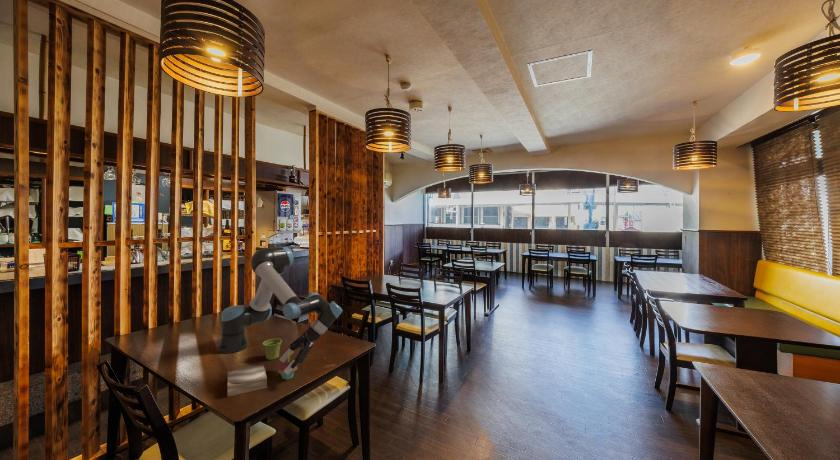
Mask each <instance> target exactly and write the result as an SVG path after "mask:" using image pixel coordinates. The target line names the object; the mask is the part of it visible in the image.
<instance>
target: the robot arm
mask: <svg viewBox="0 0 840 460" xmlns="http://www.w3.org/2000/svg"><path fill="white" fill-rule="evenodd" d="M293 264H294V254H293V252H292V250H291V248H290V247H287V246H278V247H276V246H275V247H266V248H265V247H264V248H259V249H258V250H256V251H255V252H254V253H253V254H252V256H251V258H250V267H251V270H252V271H253V273H254V274H255V275H256V276H257V277H260V278H261V280H260V283H259V285H258V288H257V291H256V292H255V295H254V298H252V299H251V300H250V301H249V303H248V305H246V306H245V305H243V304H238V305H237V304H236V305H232V306H229V307H226V308H224V309H223V310H222V312H221V315H220V316H221V317H220V320H221V321H220V322H221V324H220V325H221V327H220V328H221V329H220V330H221V331H220V332H221V333H220V335H221V337H220V340H219V341H218V342H219V343H218V346H217V352H219V353H220V354H232V353H237V352H241V351H245V350H246V349H247V348H248V347H249V339H248V337H247V335H246V327H250V326H253V325H258V324H261V323H263V322H266V321H268V320H269V319H270V318H271V316H272V315H273V314H272V313H273V312H272V310H273V308H272V304H271V303H270V301H271V298H272V296H273V294H274V295H275V297H276V298H277V299H278V301H279V302H280V303H281V305H282V306H283V308H282V313H283V316H284V317H285V319H287V320H293V319H294V320H295V319H298V318H300V317H304V316H306V315H310V314H313V313H316V314H317V315H318V316H317V318H315V319H314V321H312V323H311V325H310V326H309V327H307V328H306V330H305V332H303V333H302V334H301V335H300V336H299V337H298V338H296V339H295V340H294V341H292V343H290V344H289V346H290V347H289V348H288V349H287V350H286V352H284V354H283V355H282V356H281V357H280V358H279V359H278V360H279V361H280V362H282V363H283V362H287V361H288V352H289V350H290V356H292V354H293V353H295V352H296V350H297V349H298V348H300V350H299V351H298V353H297V355H296V357H294V358H293V360H291V361H292V362H291V363H290V364H289V365H288V367H287V368H286V369H285V370H284V371H283V372H284V373H286V374H287V375H289V374H290V372H291V371H292V370H293V369H294V368H295V367H296V366H297V367H298V364H302V363H303V362H304V360H305V358H307V356H308V354H309V353H310V351H311V349H312V348H313V347H314V345H315V344H314V342H317V341H318V340H320V338H321V337H322V335H323V334H324V333H326V332H327V331H328V329H329V328H330V326H332V324H333V323H334V322H335V321H336V320H337V319H338V318H339V316H340V315H341V314H342V313H343V309H342V307H341V306H339V305H338V304H337V303H336V302H335V301H331V302H329V301H327V300H326V299H325V298H324V297H323V296H322V295H320V293H318V292H311V293H310V294H308V295H307V296H306V298H304V299H300V297H299V296H297V294H296V293H295V291H294V290H292V288H291V287H290V286H289V285H288V283H287V282H286V281H285V280H284V279H283V277H282V276H281V274H284V273H285V272H286V269H287V267H291V266H292V265H293Z"/></svg>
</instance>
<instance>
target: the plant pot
mask: <svg viewBox="0 0 840 460" xmlns="http://www.w3.org/2000/svg"><path fill="white" fill-rule="evenodd" d="M282 342H283V340H282V339H281V338H270V339H267V340H264V341H263V342H262V345H263V347H264V351H265V356H266V358H265V359H266V360H270V361H273V360H276V359H278V358H279V357H280V349H281V344H282Z"/></svg>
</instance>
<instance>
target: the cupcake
mask: <svg viewBox="0 0 840 460" xmlns="http://www.w3.org/2000/svg"><path fill="white" fill-rule="evenodd" d="M290 358H291V355H290V350H289V352H288V359H287V360H286V361H285V362H282V363H281V364H279V366H278V368H277V372H278V373H279V374H280V376H281V378H282V379H283V380H290V379H292V378H293V377H294V374H295V371H297V370H298V365H297V366H296V367H295V368H294V369H293V370H292V371H291V372H290V374H289V375H287V374H286V373H284V372H283V371H284V370H285V369H286V368H287V367H288V365H289V364H290V363H291V362H292V361H293V360H291V359H290Z"/></svg>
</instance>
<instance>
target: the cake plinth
mask: <svg viewBox="0 0 840 460" xmlns="http://www.w3.org/2000/svg"><path fill="white" fill-rule="evenodd" d="M267 388H268V377H267V373H266V368H265V365H264V364H262V365H248V366H243V367H239V368H236V369H235V370H231V371H227V397H229V398H230V397H234V396H237V395H242V394H246V393H249V392H255V391H259V390H263V389H267Z"/></svg>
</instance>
